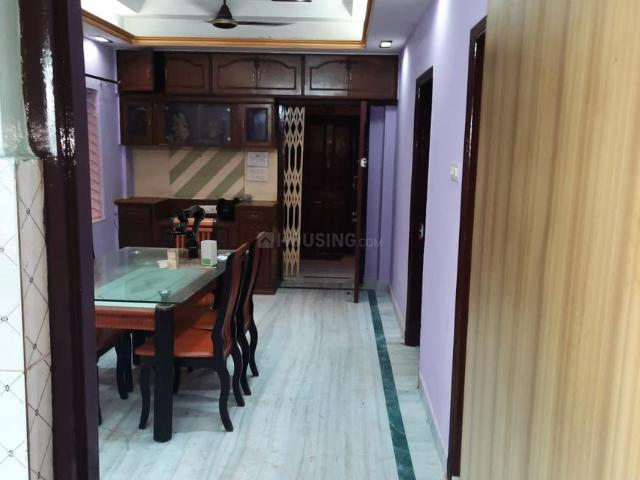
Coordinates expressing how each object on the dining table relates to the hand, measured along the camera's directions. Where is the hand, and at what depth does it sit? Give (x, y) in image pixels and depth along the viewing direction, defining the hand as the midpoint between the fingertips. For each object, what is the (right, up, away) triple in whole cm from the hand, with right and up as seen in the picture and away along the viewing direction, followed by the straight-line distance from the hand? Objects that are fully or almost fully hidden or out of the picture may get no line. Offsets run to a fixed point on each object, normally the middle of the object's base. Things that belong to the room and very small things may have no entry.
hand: (177, 244), depth 359 cm
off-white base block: (-7, -14, +1) cm, 16 cm away
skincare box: (+21, -13, +2) cm, 25 cm away
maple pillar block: (-1, -15, -6) cm, 16 cm away
